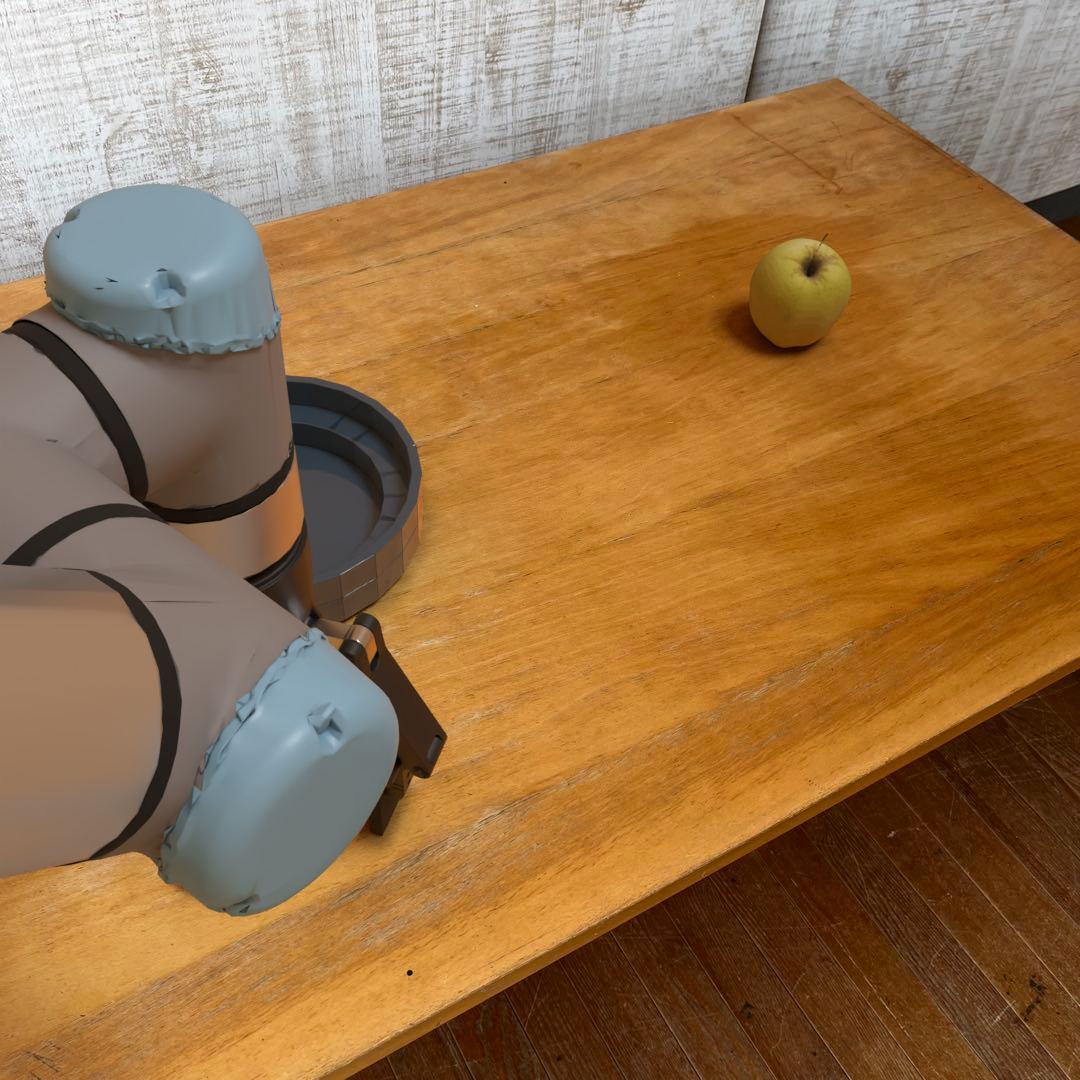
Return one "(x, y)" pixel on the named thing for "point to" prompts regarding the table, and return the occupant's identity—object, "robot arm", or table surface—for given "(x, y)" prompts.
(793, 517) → the table surface
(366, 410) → the bowl
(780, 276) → the apple
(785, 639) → the table surface
